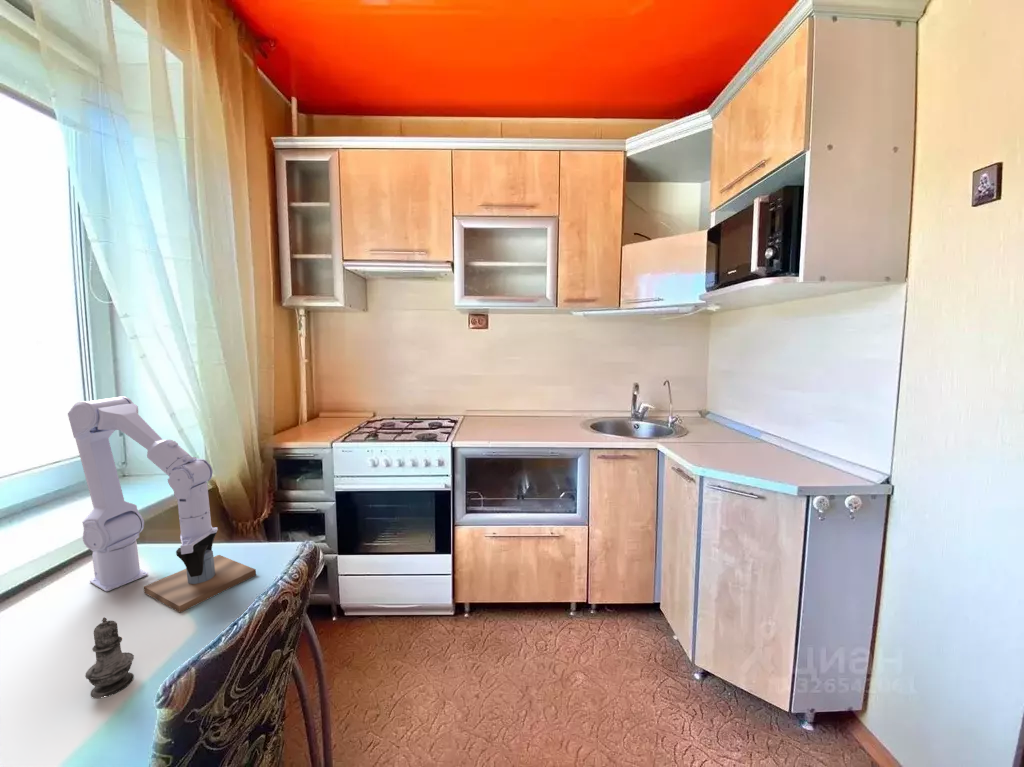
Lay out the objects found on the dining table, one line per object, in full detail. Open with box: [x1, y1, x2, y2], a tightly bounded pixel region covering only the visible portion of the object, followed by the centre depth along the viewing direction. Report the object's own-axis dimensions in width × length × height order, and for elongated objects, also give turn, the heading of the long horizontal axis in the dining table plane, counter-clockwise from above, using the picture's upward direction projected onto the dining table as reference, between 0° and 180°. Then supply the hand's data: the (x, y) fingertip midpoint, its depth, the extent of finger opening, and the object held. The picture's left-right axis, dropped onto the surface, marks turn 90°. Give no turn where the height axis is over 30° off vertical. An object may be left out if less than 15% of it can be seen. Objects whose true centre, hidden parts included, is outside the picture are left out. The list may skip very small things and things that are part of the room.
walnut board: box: [143, 554, 257, 613], centre depth 100 cm, size 16×16×4 cm
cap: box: [185, 549, 215, 584], centre depth 100 cm, size 5×5×6 cm
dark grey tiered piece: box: [84, 617, 135, 699], centre depth 70 cm, size 6×6×12 cm
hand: (200, 569), depth 100 cm, fingers closed on cap, 5 cm apart
